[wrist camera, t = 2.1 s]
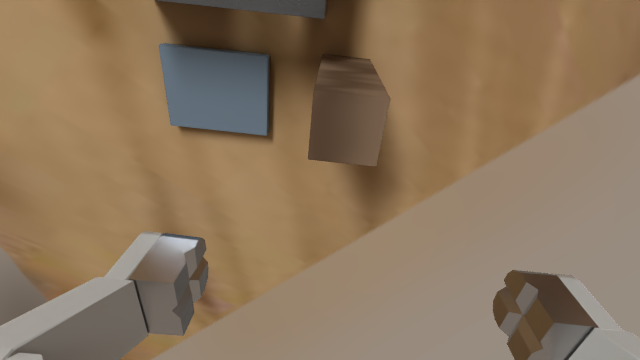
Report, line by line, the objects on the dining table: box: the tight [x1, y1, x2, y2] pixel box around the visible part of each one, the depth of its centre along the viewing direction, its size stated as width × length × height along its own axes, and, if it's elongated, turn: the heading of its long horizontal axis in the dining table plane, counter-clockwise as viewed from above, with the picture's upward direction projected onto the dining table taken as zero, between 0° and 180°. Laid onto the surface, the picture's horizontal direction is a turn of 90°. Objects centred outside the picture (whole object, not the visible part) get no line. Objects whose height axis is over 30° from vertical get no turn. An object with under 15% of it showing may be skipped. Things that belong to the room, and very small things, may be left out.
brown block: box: [308, 54, 390, 167], centre depth 23 cm, size 4×4×12 cm
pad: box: [159, 43, 270, 136], centre depth 28 cm, size 9×7×1 cm
